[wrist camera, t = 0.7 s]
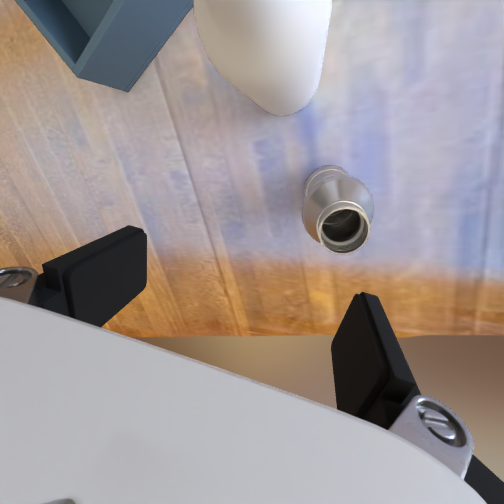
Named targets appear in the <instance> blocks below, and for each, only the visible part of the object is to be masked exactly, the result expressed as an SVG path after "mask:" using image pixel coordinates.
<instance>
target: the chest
mask: <svg viewBox="0 0 504 504" xmlns="http://www.w3.org/2000/svg"><path fill="white" fill-rule="evenodd" d="M15 1H16V2H17V4H18V5H19V6H20V7H21V9H22V10H23V11H24V12H25V14H26V15H27V16H28V17H29V18H30V20H31V21H32V22H33V23H34V25H35V26H36V27H37V28H38V30H39V31H40V32H41V33H42V35H43V36H44V37H45V38H46V40H47V41H48V42H49V43H50V44H51V46H52V47H53V48H54V49H55V51H56V52H57V53H58V54H59V56H60V57H61V58H62V59H63V61H64V62H65V63H66V64H67V66H68V67H69V68H70V69H71V70H72V72H73V73H74V74H75V75H76V77H78V78H81V79H85V80H88V81H92V82H95V83H98V84H102V85H105V86H109V87H112V88H116V89H119V90H123V91H126V92H129V91H130V89H131V88H132V87H133V85H134V84H135V83H136V81H137V80H138V79H139V77H140V76H141V74H142V73H143V72H144V70H145V69H146V68H147V66H148V65H149V64H150V62H151V61H152V60H153V58H154V57H155V56H156V54H157V53H158V52H159V50H160V49H161V48H162V46H163V45H164V44H165V42H166V41H167V40H168V38H169V37H170V36H171V34H172V33H173V32H174V30H175V29H176V28H177V26H178V25H179V24H180V22H181V21H182V20H183V18H184V17H185V16H186V14H187V13H188V12H189V10H190V9H191V8H192V6H193V0H15Z"/></svg>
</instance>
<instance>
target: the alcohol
mask: <svg viewBox="0 0 504 504" xmlns="http://www.w3.org/2000/svg"><path fill="white" fill-rule="evenodd" d="M193 5H194V14H195V21H196V25H197V29H198V32H199V36H200V38H201V41H202V44H203V46H204V48H205V51H206V53H207V55H208V58H209V60H210V61H211V63H212V64H213V66H214V67H215V69H216V70H217V72H218V73H219V74H220V75H221V76H222V77H223V78H224V79H225V80H226V81H228V82H229V83H230V84H232V85H233V86H234V87H235V88H237V89H238V90H239V91H241V92H242V93H243V94H245V95H246V96H247V97H249V98H250V99H251V100H253V101H254V102H255V103H256V104H258V105H259V106H260V107H262V108H263V109H264V110H266V111H267V112H269V113H271V114H274V115H279V116H285V115H290V114H294V113H296V112H298V111H299V110H301V109H302V108H304V107H305V106H306V105H307V104H308V103H309V101H310V100H311V99H312V97H313V96H314V94H315V92H316V90H317V88H318V85H319V81H320V76H321V71H322V64H323V58H324V52H325V45H326V39H327V33H328V27H329V20H330V14H331V7H332V0H193Z"/></svg>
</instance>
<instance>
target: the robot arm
mask: <svg viewBox="0 0 504 504" xmlns="http://www.w3.org/2000/svg"><path fill="white" fill-rule="evenodd" d="M42 267H43V271H44V273H42V274H40V275H38V272H37V271H36V270H35V269H32V268H29V267H7V268H2V269H0V504H504V482H503V481H501V480H500V479H499V478H498V477H497V476H496V475H495V474H494V473H493V472H492V471H490V470H489V469H488V468H487V467H486V466H485V465H484V464H483V463H481V461H479V460H478V459H477V458H476V457H475V456H474V455H473V451H474V441H473V438H472V435H471V433H470V431H469V430H468V428H467V427H466V425H465V424H464V422H463V421H462V420H461V419H460V418H459V417H458V416H457V415H456V414H455V413H454V412H453V411H452V410H451V409H450V408H448V407H447V406H446V405H444V404H443V403H441V402H440V401H438V400H436V399H434V398H432V397H429V396H424V395H421V393H420V391H419V389H418V386H417V384H416V382H415V379H414V377H413V375H412V373H411V370H410V368H409V366H408V364H407V361H406V360H405V357H404V354H403V352H402V350H401V348H400V345H399V343H398V341H397V339H396V336H395V334H394V332H393V330H392V327H391V325H390V323H389V321H388V318H387V316H386V314H385V312H384V309H383V307H382V305H381V303H380V300H379V298H378V297H377V296H375V295H372V294H368V293H365V292H361V293H360V295H359V294H355V296H354V297H353V300H352V302H351V304H350V306H349V308H348V310H347V312H346V314H345V316H344V318H343V320H342V322H341V324H340V326H339V329H338V331H337V333H336V335H335V337H334V339H333V341H332V345H331V353H332V363H333V373H334V382H335V392H336V402H337V409H334V408H332V407H329V406H326V405H323V404H320V403H317V402H315V401H312V400H309V399H307V398H303V397H301V396H298V395H296V394H293V393H290V392H287V391H284V390H281V389H278V388H275V387H273V386H269V385H267V384H264V383H261V382H258V381H255V380H252V379H249V378H247V377H244V376H241V375H238V374H235V373H232V372H229V371H226V370H224V369H221V368H218V367H215V366H212V365H209V364H206V363H203V362H200V361H197V360H195V359H191V358H189V357H186V356H183V355H180V354H177V353H174V352H171V351H168V350H165V349H162V348H159V347H156V346H153V345H151V344H148V343H145V342H142V341H139V340H136V339H133V338H130V337H127V336H124V335H121V334H118V333H115V332H112V331H109V330H106V329H103V328H101V327H102V326H103V325H104V324H105V323H106V322H107V321H109V320H110V319H111V318H112V317H113V316H114V315H115V314H117V313H118V312H119V311H120V310H121V309H122V308H123V307H125V306H126V305H127V304H128V303H129V302H130V301H131V300H133V299H134V298H135V297H136V296H137V295H138V294H139V293H140V292H142V291H143V290H144V288H145V287H146V283H147V235H146V233H144V230H143V229H141V228H137V227H134V226H130V225H129V226H126V227H124V228H122V229H120V230H117V231H115V232H113V233H111V234H108V235H106V236H104V237H102V238H100V239H97V240H95V241H93V242H91V243H89V244H86V245H84V246H82V247H80V248H77V249H75V250H73V251H71V252H69V253H66V254H64V255H62V256H60V257H57V258H55V259H53V260H51V261H49V262H46V263H44V264H42Z"/></svg>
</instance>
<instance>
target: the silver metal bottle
mask: <svg viewBox="0 0 504 504" xmlns="http://www.w3.org/2000/svg"><path fill="white" fill-rule="evenodd" d="M304 199H305V200H304V203H303V207H302V221H303V224H304V227H305V229H306V231H307V232H308V234H309V235H310V236H311V237H312V238H313V239H315V240H316V241H318V242H319V243H321V244H322V245H323V246H324V247H325V249H327V250H328V251H329V252H331V253H334V254H338V255H346V254H351V253H354V252H355V251H357V250H359V249H360V248H361V247H362V246H363V245H364V244H365V243H366V241H367V240H368V237H369V234H370V224H371V221H372V219H373V214H374V201H373V197H372V194H371V192H370V191H369V189H368V188H367V187H366V185H365V184H364V183H362V182H361V181H359V180H358V179H356V178H353V177H350V176H349V174H348V173H347V172H346V171H345V170H344V169H342V168H341V167H338V166H334V165H327V166H323V167H321V168H318V169H317V170H315V171H314V172H313V173H312V174H311V175H310V176H309V178H308V179H307V181H306V183H305V187H304Z"/></svg>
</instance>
